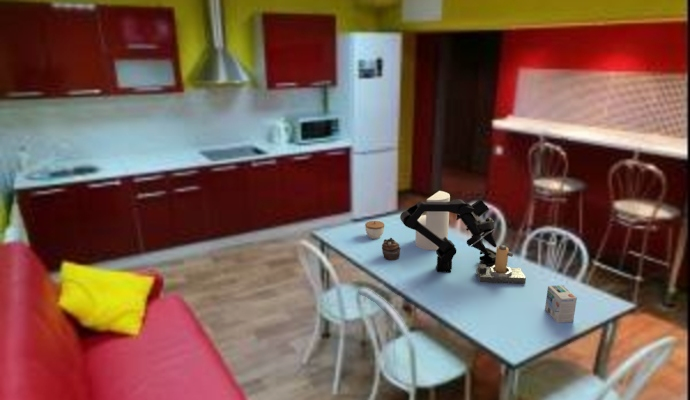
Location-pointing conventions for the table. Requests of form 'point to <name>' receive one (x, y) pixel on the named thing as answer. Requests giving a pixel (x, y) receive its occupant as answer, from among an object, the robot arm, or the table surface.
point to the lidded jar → (374, 229)
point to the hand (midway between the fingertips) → (491, 250)
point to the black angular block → (488, 258)
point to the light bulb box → (560, 303)
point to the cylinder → (434, 222)
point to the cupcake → (391, 249)
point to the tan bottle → (502, 259)
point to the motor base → (500, 275)
